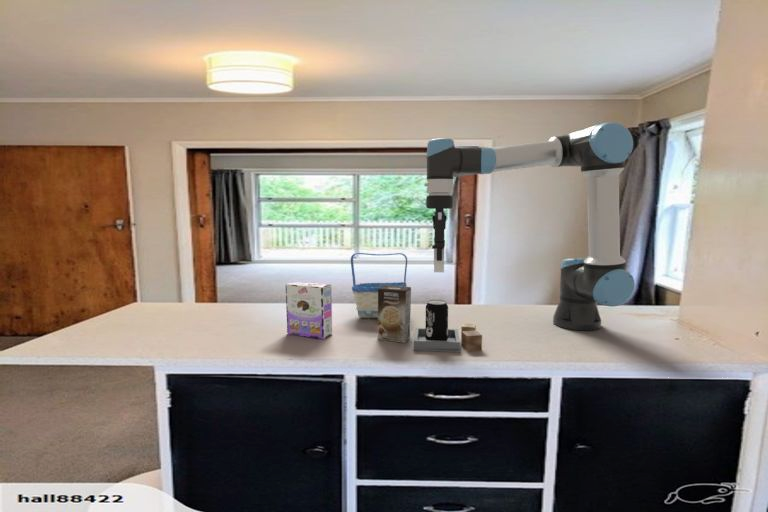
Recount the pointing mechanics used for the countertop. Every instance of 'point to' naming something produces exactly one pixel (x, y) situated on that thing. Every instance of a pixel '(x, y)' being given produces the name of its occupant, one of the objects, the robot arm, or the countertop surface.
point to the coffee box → (394, 313)
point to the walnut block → (471, 340)
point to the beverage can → (437, 320)
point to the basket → (370, 292)
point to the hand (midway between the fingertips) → (438, 268)
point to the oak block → (468, 327)
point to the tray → (436, 342)
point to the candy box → (309, 309)
